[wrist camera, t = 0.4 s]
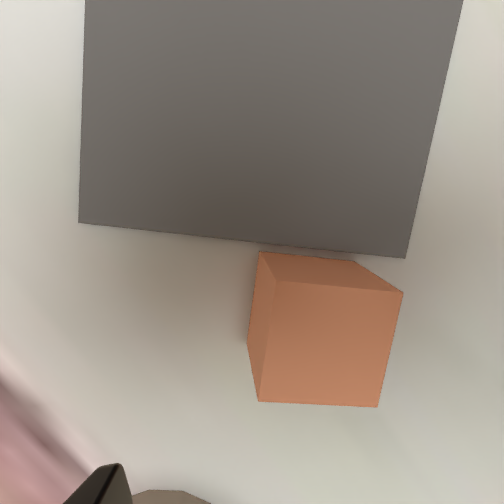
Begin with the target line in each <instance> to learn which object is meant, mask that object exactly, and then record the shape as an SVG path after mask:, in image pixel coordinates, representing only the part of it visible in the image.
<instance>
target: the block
mask: <svg viewBox="0 0 504 504" xmlns="http://www.w3.org/2000/svg"><path fill="white" fill-rule="evenodd" d="M402 297H403V292H401V291H400V290H398V289H397V288H395V287H394V286H392V285H391V284H389V283H387V282H386V281H384V280H383V279H381V278H380V277H378V276H377V275H375V274H373V273H372V272H370V271H369V270H367V269H366V268H364V267H363V266H361V265H359V264H358V263H356V262H355V261H347V260H337V259H328V258H318V257H309V256H300V255H290V254H281V253H271V252H262V251H259V258H258V265H257V273H256V280H255V287H254V294H253V301H252V309H251V316H250V323H249V330H248V338H247V347H248V352H249V357H250V363H251V368H252V373H253V378H254V383H255V388H256V393H257V398H258V401H260V402H280V403H300V404H319V405H339V406H359V407H377V406H378V402H379V397H380V393H381V389H382V384H383V380H384V376H385V371H386V367H387V363H388V358H389V354H390V349H391V345H392V341H393V336H394V332H395V328H396V323H397V319H398V315H399V310H400V306H401V301H402Z"/></svg>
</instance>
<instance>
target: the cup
mask: <svg viewBox="0 0 504 504" xmlns="http://www.w3.org/2000/svg"><path fill="white" fill-rule="evenodd" d="M132 501H133V504H211V503H209V502H206V501H204V500H202V499H200V498H197V497H195V496H193V495H191V494H188V493H186V492H184V491H169V490H147V491H145V492H142V493H139V494H136V495H133V496H132Z"/></svg>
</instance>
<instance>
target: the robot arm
mask: <svg viewBox="0 0 504 504" xmlns="http://www.w3.org/2000/svg"><path fill="white" fill-rule="evenodd" d="M63 504H133V501H132V495H131V491H130V488H129V485H128V481H127V478H126V475H125V472H124V469H123V466H122V465H121V464H119V463H114V464H109V465H104V466H101V467H99V468H97V469H96V470H95V471H94V472H93V473H92V474H91V475H90V476H89V477H88V478H87V479H86V480H85V481H84V482H83V483H82V484H81V486H80V487H79V488H78V489H77V490H76V491H75V492H74V493H73V494H72V495H71V496H70V497H69V498H68V499H67V500H66V501H65V502H64V503H63Z"/></svg>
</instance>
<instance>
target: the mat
mask: <svg viewBox="0 0 504 504" xmlns="http://www.w3.org/2000/svg"><path fill="white" fill-rule="evenodd" d="M462 4H463V0H85V23H84V55H83V88H82V120H81V153H80V185H79V217H78V223H85V224H94V225H104V226H113V227H122V228H131V229H140V230H149V231H158V232H167V233H177V234H186V235H195V236H204V237H213V238H222V239H231V240H241V241H250V242H259V243H268V244H277V245H286V246H295V247H304V248H314V249H323V250H332V251H341V252H350V253H359V254H368V255H378V256H387V257H396V258H405V257H406V253H407V248H408V244H409V239H410V235H411V230H412V226H413V222H414V217H415V213H416V208H417V204H418V199H419V195H420V191H421V186H422V182H423V177H424V173H425V168H426V164H427V159H428V155H429V151H430V146H431V142H432V137H433V133H434V128H435V124H436V120H437V115H438V111H439V106H440V102H441V97H442V93H443V88H444V84H445V80H446V75H447V71H448V66H449V62H450V57H451V53H452V49H453V44H454V40H455V35H456V31H457V26H458V22H459V17H460V13H461V9H462Z"/></svg>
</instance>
